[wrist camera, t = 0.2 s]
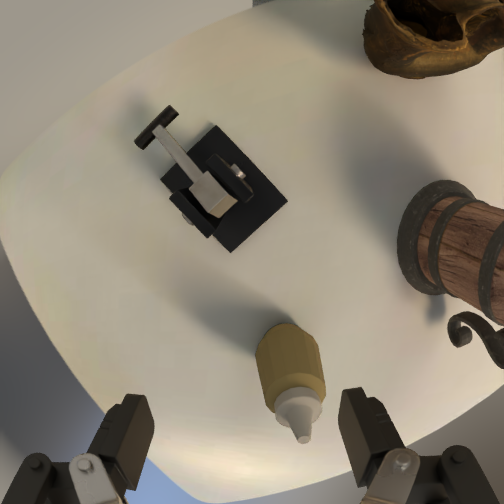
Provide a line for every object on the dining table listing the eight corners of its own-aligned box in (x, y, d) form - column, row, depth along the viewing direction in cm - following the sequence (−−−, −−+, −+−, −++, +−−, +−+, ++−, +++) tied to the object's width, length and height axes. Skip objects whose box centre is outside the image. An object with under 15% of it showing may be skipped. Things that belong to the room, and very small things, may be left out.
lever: (142, 145, 29) (128, 137, 27) (176, 111, 28) (164, 100, 26) (207, 229, 26) (194, 225, 24) (250, 189, 25) (241, 181, 23)
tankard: (389, 189, 36) (499, 209, 16) (480, 173, 35) (583, 187, 15) (400, 345, 41) (466, 432, 22) (480, 314, 40) (554, 371, 21)
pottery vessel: (349, 107, 33) (437, 56, 14) (310, 34, 31) (356, -60, 11) (475, 71, 31) (565, 45, 11) (444, 12, 28) (518, -36, 9)
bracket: (162, 179, 35) (120, 183, 23) (217, 126, 34) (200, 101, 21) (231, 250, 37) (222, 289, 25) (286, 200, 36) (306, 214, 23)
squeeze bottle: (309, 365, 42) (337, 460, 24) (253, 364, 41) (255, 465, 24) (317, 315, 40) (357, 405, 22) (256, 314, 39) (261, 410, 22)
